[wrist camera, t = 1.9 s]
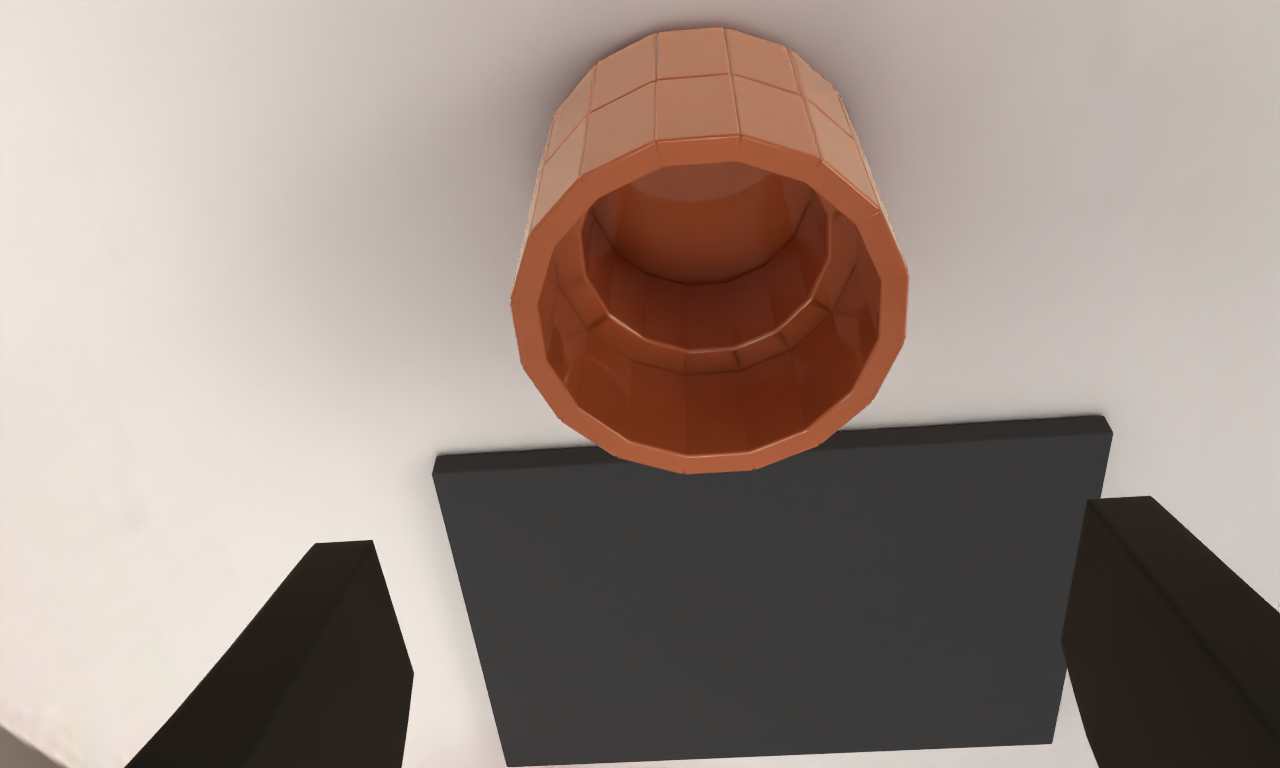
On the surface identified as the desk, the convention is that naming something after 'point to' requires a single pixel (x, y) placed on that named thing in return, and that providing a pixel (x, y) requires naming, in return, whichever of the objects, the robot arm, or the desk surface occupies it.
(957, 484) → the desk pad
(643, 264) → the flower pot
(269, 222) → the desk surface
